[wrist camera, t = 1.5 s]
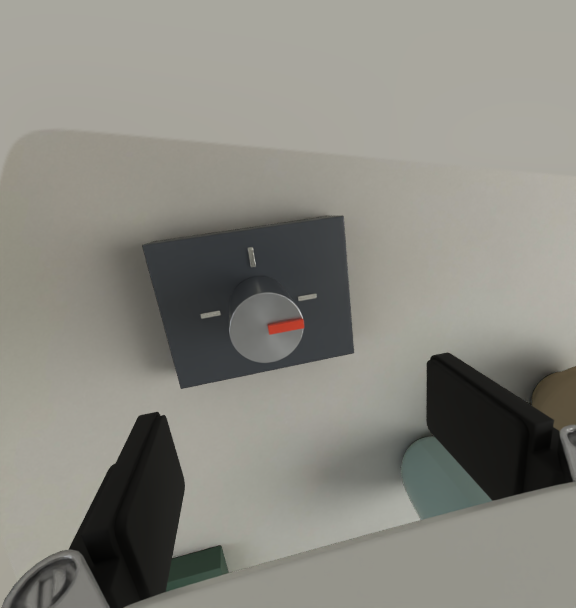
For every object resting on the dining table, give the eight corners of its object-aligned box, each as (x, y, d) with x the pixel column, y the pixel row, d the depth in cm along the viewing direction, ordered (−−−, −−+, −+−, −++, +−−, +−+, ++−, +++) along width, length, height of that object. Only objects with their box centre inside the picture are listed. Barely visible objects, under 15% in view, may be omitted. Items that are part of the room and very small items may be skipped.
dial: (235, 338, 23) (236, 372, 18) (224, 281, 22) (222, 301, 17) (292, 327, 24) (309, 357, 19) (284, 271, 22) (300, 287, 17)
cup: (404, 419, 32) (477, 505, 23) (465, 428, 34) (556, 511, 24) (379, 480, 34) (437, 584, 24) (439, 485, 36) (514, 583, 26)
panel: (186, 370, 26) (180, 390, 23) (152, 241, 23) (140, 245, 20) (342, 339, 28) (355, 354, 25) (331, 215, 25) (344, 215, 22)
